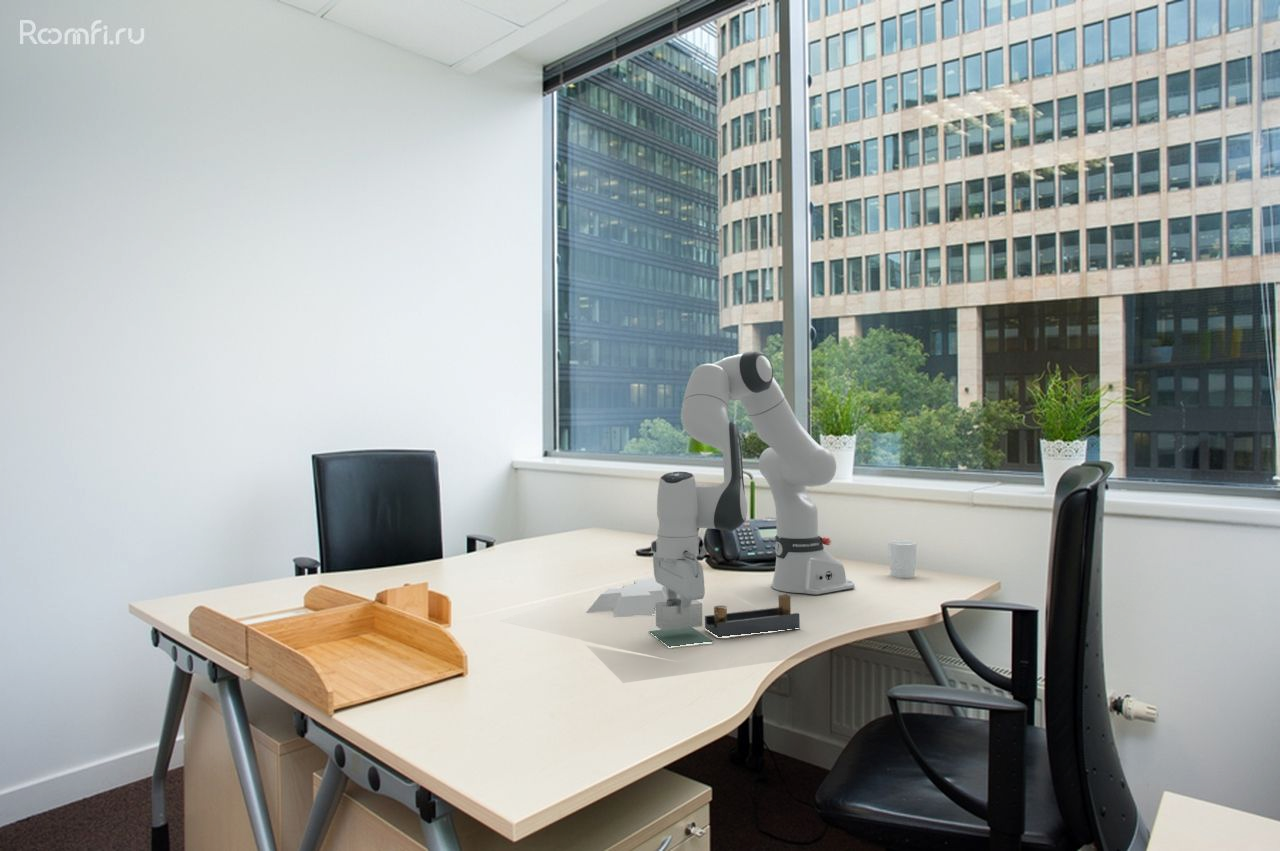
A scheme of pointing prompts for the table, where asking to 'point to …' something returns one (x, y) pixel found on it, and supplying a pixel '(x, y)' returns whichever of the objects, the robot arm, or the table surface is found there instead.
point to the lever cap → (677, 615)
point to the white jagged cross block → (632, 598)
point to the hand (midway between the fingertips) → (678, 611)
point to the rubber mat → (680, 636)
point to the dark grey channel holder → (752, 620)
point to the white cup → (902, 558)
